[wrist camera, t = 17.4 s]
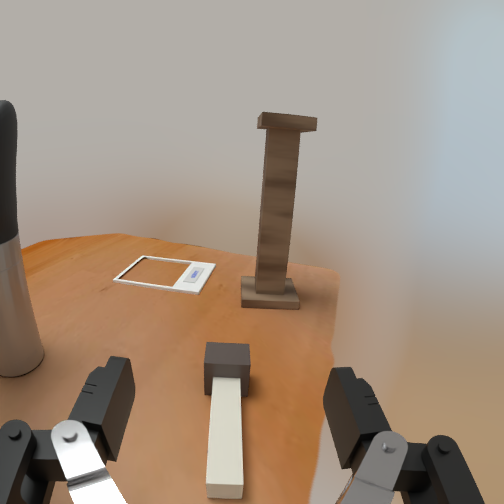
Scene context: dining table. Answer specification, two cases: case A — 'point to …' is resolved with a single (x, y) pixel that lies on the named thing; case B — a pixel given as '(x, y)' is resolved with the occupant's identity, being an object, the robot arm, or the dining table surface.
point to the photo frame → (186, 283)
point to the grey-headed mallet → (225, 416)
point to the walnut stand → (276, 213)
